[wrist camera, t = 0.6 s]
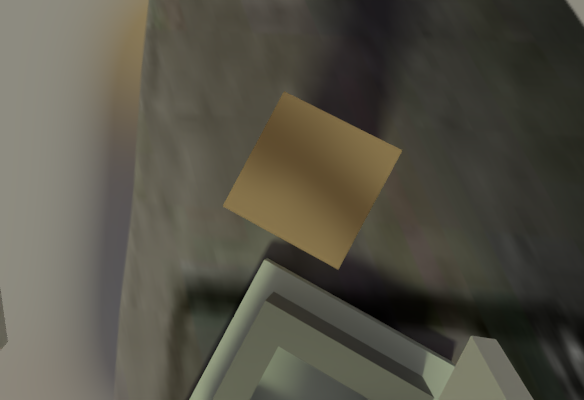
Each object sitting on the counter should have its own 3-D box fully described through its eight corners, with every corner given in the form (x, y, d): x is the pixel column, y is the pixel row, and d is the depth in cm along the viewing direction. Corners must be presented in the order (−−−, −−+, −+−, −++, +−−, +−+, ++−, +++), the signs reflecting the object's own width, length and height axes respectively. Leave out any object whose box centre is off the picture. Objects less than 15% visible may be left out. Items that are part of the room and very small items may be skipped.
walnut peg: (309, 154, 36) (283, 89, 19) (370, 185, 36) (403, 149, 18) (277, 213, 36) (221, 206, 19) (337, 246, 36) (338, 271, 18)
